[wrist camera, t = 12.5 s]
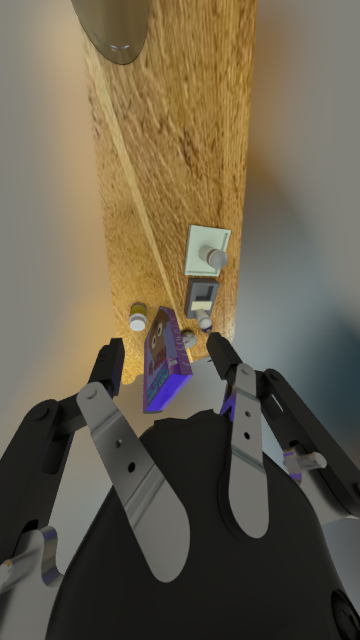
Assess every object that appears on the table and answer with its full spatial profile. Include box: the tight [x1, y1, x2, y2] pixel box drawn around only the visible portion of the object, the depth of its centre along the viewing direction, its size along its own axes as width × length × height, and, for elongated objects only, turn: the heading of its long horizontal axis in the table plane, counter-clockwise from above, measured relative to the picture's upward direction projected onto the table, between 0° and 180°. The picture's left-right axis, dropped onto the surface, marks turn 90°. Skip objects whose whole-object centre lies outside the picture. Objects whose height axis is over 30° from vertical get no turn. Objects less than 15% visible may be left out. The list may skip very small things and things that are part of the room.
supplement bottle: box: [129, 303, 147, 331], centre depth 38 cm, size 5×5×8 cm
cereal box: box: [143, 306, 193, 414], centre depth 38 cm, size 17×5×24 cm, turn 154°
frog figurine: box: [182, 332, 197, 349], centre depth 49 cm, size 6×7×7 cm
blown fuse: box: [199, 245, 228, 270], centre depth 31 cm, size 4×4×8 cm
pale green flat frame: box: [183, 225, 231, 276], centre depth 34 cm, size 11×10×2 cm
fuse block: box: [184, 278, 220, 329], centre depth 39 cm, size 12×8×10 cm, turn 174°
